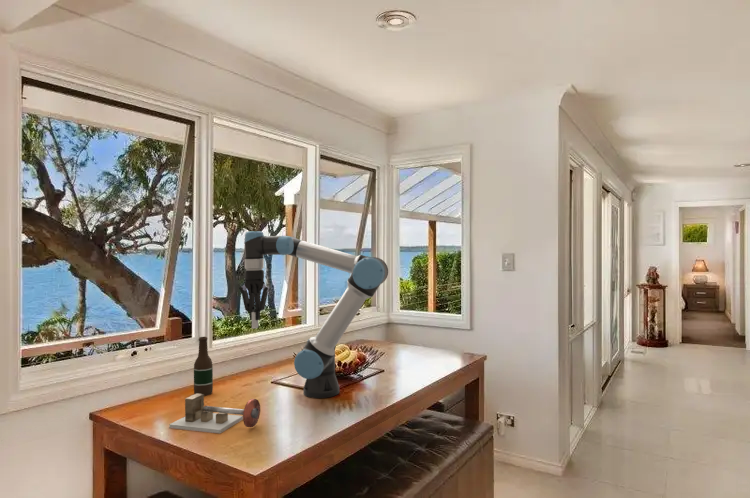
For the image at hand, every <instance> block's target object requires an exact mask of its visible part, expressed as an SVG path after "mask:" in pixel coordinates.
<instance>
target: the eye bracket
mask: <svg viewBox="0 0 750 498" xmlns="http://www.w3.org/2000/svg"><path fill="white" fill-rule="evenodd" d="M204 406H205V396H204V394H199V393H196V394H194V393H193V394H192V395H190V396H188V397H185V398H184V408H185V409H184V411H185V412H184V415H185V416H184V417H185V422H194V421H196V420H198V419H200V418H201V422H208V421H210V420H212V419H213V413H214V412H208V411H204V410H203V408H204ZM217 413H218V412H217ZM228 415H229V414H228V413H218V414H216V423H220V424H222V423H224V422H226V421H227V420H228Z"/></svg>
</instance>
